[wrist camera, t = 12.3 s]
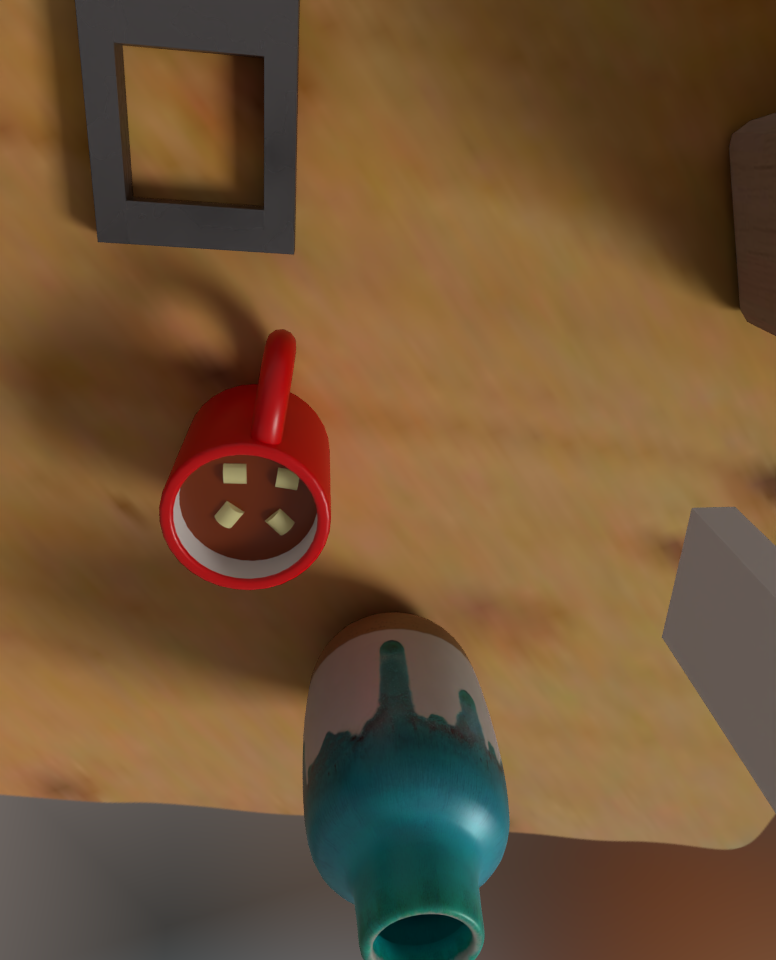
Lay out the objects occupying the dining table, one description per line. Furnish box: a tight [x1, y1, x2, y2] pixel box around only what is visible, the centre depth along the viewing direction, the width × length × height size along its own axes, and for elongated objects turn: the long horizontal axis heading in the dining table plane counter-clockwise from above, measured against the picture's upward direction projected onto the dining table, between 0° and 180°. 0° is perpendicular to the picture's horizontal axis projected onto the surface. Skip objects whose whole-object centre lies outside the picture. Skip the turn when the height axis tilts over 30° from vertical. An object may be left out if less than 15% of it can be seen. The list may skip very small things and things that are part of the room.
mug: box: [159, 329, 331, 590], centre depth 37 cm, size 8×12×8 cm, turn 167°
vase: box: [303, 612, 510, 960], centre depth 40 cm, size 11×11×19 cm
